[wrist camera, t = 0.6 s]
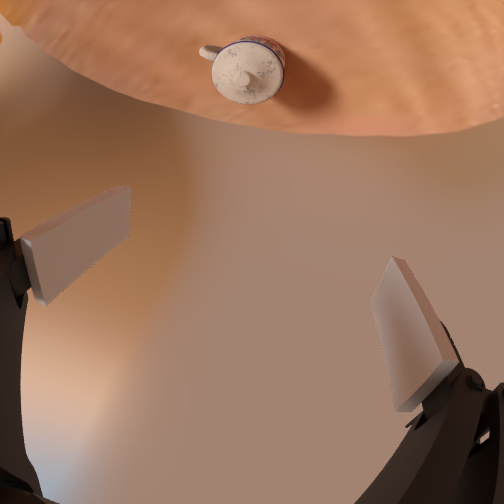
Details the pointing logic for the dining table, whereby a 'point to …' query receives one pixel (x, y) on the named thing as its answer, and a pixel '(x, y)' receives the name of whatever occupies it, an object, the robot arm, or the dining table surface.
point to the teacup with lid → (247, 68)
